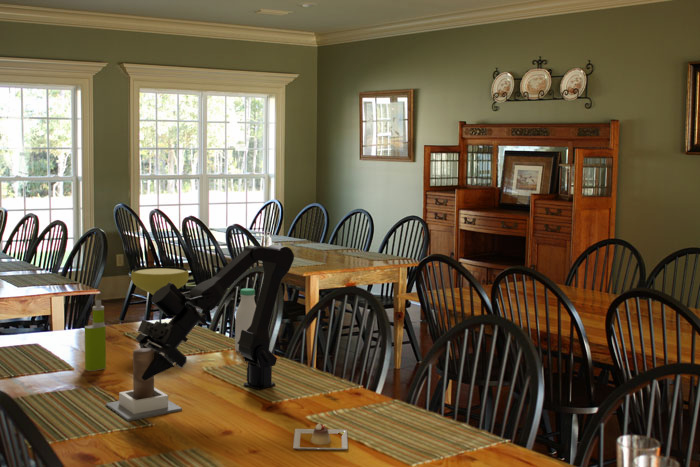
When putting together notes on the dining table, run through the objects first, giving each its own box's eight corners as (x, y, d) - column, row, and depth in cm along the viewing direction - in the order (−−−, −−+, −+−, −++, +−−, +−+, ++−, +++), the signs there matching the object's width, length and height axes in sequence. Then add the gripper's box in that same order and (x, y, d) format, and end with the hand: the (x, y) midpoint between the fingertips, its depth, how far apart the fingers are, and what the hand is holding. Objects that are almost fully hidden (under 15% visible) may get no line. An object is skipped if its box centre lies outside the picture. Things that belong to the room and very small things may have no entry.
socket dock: (157, 396, 210) (157, 382, 209) (181, 410, 199) (181, 396, 198) (105, 405, 201) (105, 391, 201) (128, 421, 190) (127, 406, 190)
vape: (108, 368, 235) (107, 300, 232) (89, 371, 230) (88, 303, 228) (102, 365, 237) (101, 299, 235) (83, 368, 233) (82, 301, 231)
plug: (157, 399, 202) (157, 349, 200) (148, 405, 197) (148, 353, 195) (139, 397, 203) (139, 347, 201) (129, 403, 198) (129, 352, 196)
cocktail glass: (146, 355, 250) (146, 276, 247) (122, 343, 263) (122, 268, 261) (198, 347, 261) (198, 271, 258) (172, 336, 275) (172, 264, 272)
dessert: (346, 434, 187) (347, 414, 186) (347, 453, 175) (348, 432, 174) (295, 433, 186) (295, 413, 186) (292, 452, 174) (293, 431, 174)
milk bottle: (247, 354, 253) (247, 292, 251) (230, 350, 258) (230, 289, 256) (264, 350, 260) (264, 289, 257) (247, 346, 264) (247, 286, 262)
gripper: (142, 301, 207) (101, 349, 201) (174, 314, 192) (131, 366, 187) (170, 327, 213) (131, 375, 207) (204, 342, 198) (163, 393, 192)
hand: (138, 376), depth 198 cm, fingers closed on plug, 5 cm apart
